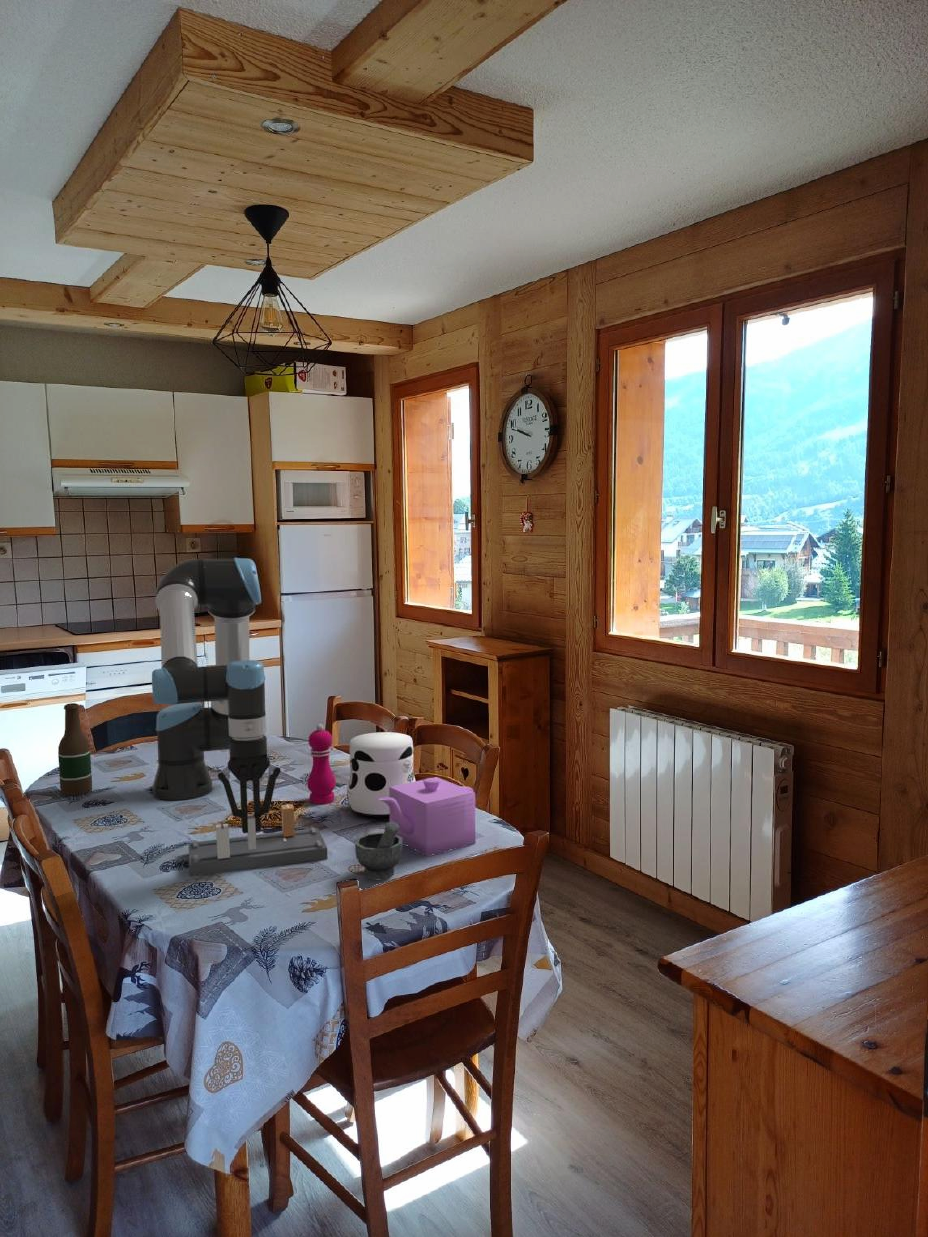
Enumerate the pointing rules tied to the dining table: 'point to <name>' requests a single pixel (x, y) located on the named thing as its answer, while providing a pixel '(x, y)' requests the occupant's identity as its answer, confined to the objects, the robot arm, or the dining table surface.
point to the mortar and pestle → (379, 852)
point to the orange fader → (288, 820)
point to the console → (257, 852)
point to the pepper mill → (321, 768)
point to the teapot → (433, 814)
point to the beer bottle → (74, 756)
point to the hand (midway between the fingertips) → (252, 846)
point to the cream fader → (223, 841)
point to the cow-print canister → (378, 770)
